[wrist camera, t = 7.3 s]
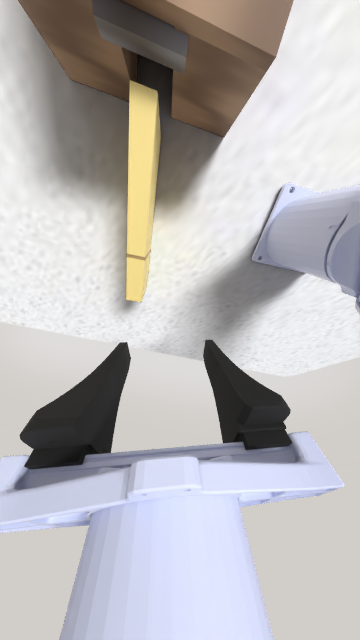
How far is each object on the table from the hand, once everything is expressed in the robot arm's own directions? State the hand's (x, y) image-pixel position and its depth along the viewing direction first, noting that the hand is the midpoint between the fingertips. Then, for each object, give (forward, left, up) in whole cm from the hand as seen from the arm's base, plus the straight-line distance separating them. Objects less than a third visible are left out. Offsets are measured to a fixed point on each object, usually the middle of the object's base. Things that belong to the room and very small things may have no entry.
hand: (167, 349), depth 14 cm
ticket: (+4, -9, -10) cm, 14 cm away
